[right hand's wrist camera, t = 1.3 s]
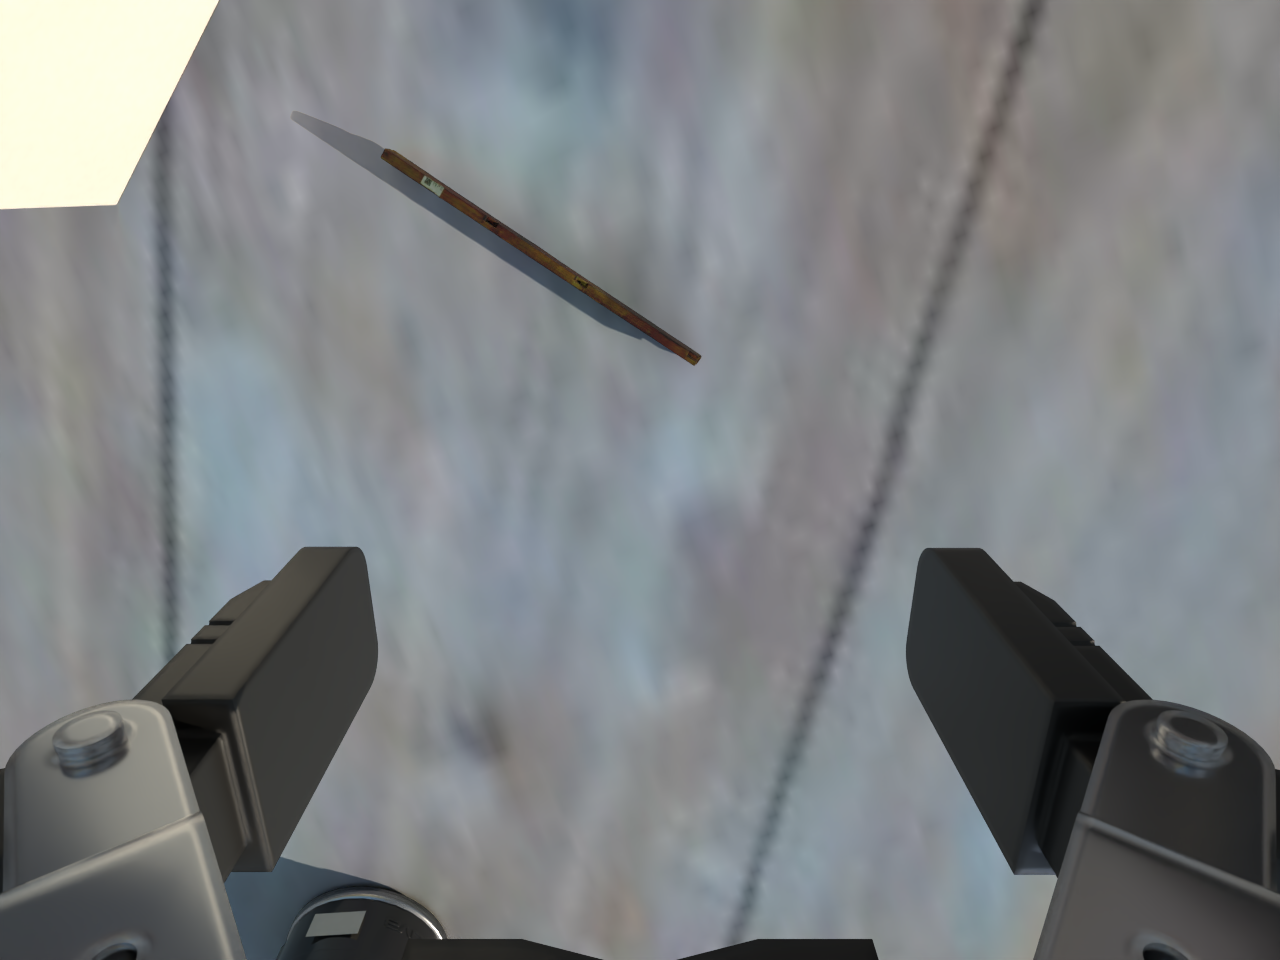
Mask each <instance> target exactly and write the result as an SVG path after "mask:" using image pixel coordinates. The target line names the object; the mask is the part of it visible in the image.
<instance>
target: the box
mask: <svg viewBox="0 0 1280 960" xmlns="http://www.w3.org/2000/svg"><path fill="white" fill-rule="evenodd" d="M218 1H219V0H0V209H18V208H45V207H72V206H98V205H116V204H117V202H118V200H119V198H120V196H121V194H122V193H123V191H124V189H125V187H126V185H127V183H128V181H129V179H130V177H131V175H132V173H133V171H134V169H135V167H136V165H137V163H138V161H139V159H140V157H141V155H142V153H143V151H144V149H145V147H146V145H147V143H148V141H149V139H150V137H151V135H152V133H153V131H154V129H155V127H156V125H157V123H158V121H159V119H160V117H161V115H162V113H163V111H164V109H165V107H166V105H167V103H168V101H169V99H170V97H171V95H172V93H173V91H174V89H175V87H176V85H177V83H178V81H179V79H180V77H181V75H182V73H183V71H184V69H185V67H186V65H187V63H188V61H189V59H190V57H191V55H192V53H193V51H194V49H195V47H196V45H197V43H198V41H199V39H200V37H201V35H202V33H203V31H204V29H205V27H206V25H207V23H208V21H209V19H210V17H211V15H212V13H213V11H214V9H215V7H216V5H217V3H218Z"/></svg>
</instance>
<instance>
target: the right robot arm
mask: <svg viewBox="0 0 1280 960" xmlns="http://www.w3.org/2000/svg"><path fill="white" fill-rule="evenodd" d="M377 660H378V641H377V634H376V627H375V620H374V613H373V606H372V599H371V592H370V585H369V578H368V571H367V564H366V560H365V556H364V554H363V552H362V550H361V549H360V548H358V547H304V548H302V549H301V550H299V551H298V552H297V554H296V555H295V556H294V557H293V558H292V559H291V560H290V561H289V562H288V563H287V564H286V565H285V567H284V568H283V569H282V570H281V571H280V572H279V573H278V574H277V575H276V576H275V577H274V578H273V579H272V581H262V582H260V583H259V584H257V585H255V586H253V587H252V588H250V589H248V590H246V591H244V592H243V593H241V594H239V595H237V596H236V597H234V598H232V599H230V600H229V601H228V603H227V604H226V605H225V606H224V607H223V608H222V609H221V610H220V611H219V612H218V613H217V614H216V615H215V616H214V617H213V618H212V619H211V620H210V621H209V625H205V626H204V627H203V628H202V629H201V630H200V631H199V632H198V633H197V634H196V635H195V636H194V637H193V638H192V639H191V644H186V645H185V646H184V647H183V648H182V649H181V650H180V651H179V652H178V653H177V654H176V655H175V656H174V657H173V658H172V659H171V660H170V661H169V662H168V664H167V665H166V666H165V667H164V668H163V669H162V670H161V671H160V672H159V673H158V674H157V675H156V676H155V677H154V678H153V679H152V680H151V681H150V682H149V683H148V684H147V685H146V686H145V687H144V688H143V689H142V690H141V691H140V692H139V693H138V694H137V695H136V696H135V697H134V698H133V699H132V700H121V701H113V702H108V703H103V704H99V705H96V706H92V707H88V708H85V709H83V710H80V711H77V712H74V713H72V714H70V715H67V716H65V717H63V718H60V719H59V720H57V721H55V722H53V723H51V724H49V725H47V726H46V727H44V728H42V729H41V730H39V731H38V732H36V733H35V734H33V735H32V736H31V737H30V738H28V739H27V740H26V741H24V742H23V743H22V744H21V745H20V746H19V747H18V748H17V749H16V750H15V752H14V753H13V754H12V756H11V757H10V758H9V760H8V762H7V764H6V768H3V769H0V960H247V959H246V956H245V953H244V949H243V946H242V943H241V939H240V936H239V933H238V929H237V926H236V923H235V919H234V916H233V913H232V909H231V906H230V903H229V900H228V896H227V893H226V890H225V886H224V883H225V881H226V879H227V877H228V876H229V874H230V872H272V871H273V869H274V867H275V865H276V863H277V861H278V859H279V858H280V856H281V854H282V852H283V850H284V848H285V846H286V844H287V843H288V841H289V839H290V837H291V835H292V833H293V831H294V830H295V828H296V826H297V824H298V822H299V820H300V818H301V816H302V815H303V813H304V811H305V809H306V807H307V805H308V803H309V801H310V800H311V798H312V796H313V794H314V792H315V790H316V788H317V786H318V785H319V783H320V781H321V779H322V777H323V775H324V773H325V772H326V770H327V768H328V766H329V764H330V762H331V760H332V758H333V757H334V755H335V753H336V751H337V749H338V747H339V745H340V743H341V742H342V740H343V738H344V736H345V734H346V732H347V730H348V728H349V727H350V725H351V723H352V721H353V719H354V717H355V715H356V714H357V712H358V710H359V708H360V706H361V704H362V702H363V700H364V699H365V697H366V695H367V693H368V691H369V689H370V687H371V685H372V683H373V680H374V677H375V673H376V668H377ZM906 661H907V669H908V674H909V678H910V681H911V684H912V686H913V689H914V690H915V692H916V694H917V696H918V698H919V700H920V702H921V703H922V705H923V707H924V709H925V711H926V713H927V714H928V716H929V718H930V720H931V722H932V724H933V726H934V727H935V729H936V731H937V733H938V735H939V737H940V739H941V740H942V742H943V744H944V746H945V748H946V750H947V751H948V753H949V755H950V757H951V759H952V761H953V763H954V764H955V766H956V768H957V770H958V772H959V774H960V775H961V777H962V779H963V781H964V783H965V785H966V787H967V788H968V790H969V792H970V794H971V796H972V798H973V799H974V801H975V803H976V805H977V807H978V809H979V811H980V812H981V814H982V816H983V818H984V820H985V822H986V824H987V825H988V827H989V829H990V831H991V833H992V835H993V836H994V838H995V840H996V842H997V844H998V846H999V848H1000V849H1001V851H1002V853H1003V855H1004V857H1005V859H1006V860H1007V862H1008V864H1009V866H1010V868H1011V870H1012V872H1013V873H1014V875H1056V876H1057V878H1058V880H1057V883H1056V886H1055V890H1054V893H1053V896H1052V900H1051V903H1050V906H1049V909H1048V913H1047V916H1046V919H1045V923H1044V926H1043V929H1042V933H1041V936H1040V939H1039V943H1038V946H1037V949H1036V953H1035V956H1034V959H1033V960H1280V770H1277V769H1275V768H1274V764H1273V762H1272V760H1271V758H1270V757H1269V756H1268V754H1267V753H1266V752H1265V750H1264V749H1263V748H1262V747H1261V746H1260V745H1259V744H1258V743H1257V742H1256V741H1254V740H1253V739H1252V738H1250V737H1249V736H1248V735H1247V734H1245V733H1244V732H1242V731H1241V730H1239V729H1238V728H1236V727H1234V726H1233V725H1231V724H1229V723H1227V722H1225V721H1223V720H1221V719H1220V718H1217V717H1215V716H1213V715H1210V714H1208V713H1206V712H1203V711H1200V710H1197V709H1195V708H1192V707H1188V706H1184V705H1181V704H1177V703H1172V702H1167V701H1159V700H1153V699H1152V698H1151V697H1150V696H1149V695H1148V694H1147V693H1146V692H1145V691H1144V690H1143V689H1142V688H1141V687H1140V686H1139V685H1138V684H1137V683H1136V682H1135V681H1134V680H1133V679H1132V678H1131V677H1130V676H1129V675H1128V674H1127V673H1126V672H1125V671H1124V670H1123V669H1122V668H1121V667H1120V666H1119V665H1118V664H1117V663H1116V662H1115V661H1114V660H1113V659H1112V658H1111V657H1110V656H1109V655H1108V654H1107V653H1106V652H1105V651H1104V650H1103V649H1102V648H1101V647H1100V646H1095V644H1094V640H1093V639H1092V638H1091V637H1090V636H1089V635H1088V634H1087V633H1086V632H1085V631H1084V630H1083V629H1082V628H1081V627H1076V622H1075V621H1074V620H1073V619H1072V618H1071V617H1070V616H1069V615H1068V614H1067V613H1066V612H1065V611H1064V610H1063V609H1062V608H1061V607H1060V606H1059V605H1058V604H1057V603H1056V602H1055V601H1054V600H1052V599H1051V598H1049V597H1047V596H1045V595H1043V594H1042V593H1040V592H1038V591H1036V590H1035V589H1033V588H1031V587H1029V586H1027V585H1026V584H1024V583H1022V582H1013V581H1012V580H1011V579H1010V577H1009V576H1008V575H1007V574H1006V573H1005V572H1004V571H1003V570H1002V569H1001V568H1000V567H999V566H998V565H997V564H996V563H995V561H994V560H993V559H992V558H991V557H990V556H989V555H988V554H987V553H986V552H985V551H984V550H983V549H981V548H926V549H925V550H924V551H923V552H922V554H921V556H920V558H919V562H918V567H917V573H916V580H915V587H914V594H913V601H912V608H911V614H910V621H909V628H908V635H907V643H906ZM276 960H602V959H598V958H594V957H590V956H586V955H582V954H578V953H574V952H570V951H566V950H563V949H559V948H555V947H551V946H547V945H543V944H539V943H535V942H531V941H527V940H523V939H447V936H446V934H445V931H444V929H443V928H442V926H441V924H440V923H439V921H438V920H437V919H436V918H435V917H434V915H433V914H431V913H430V912H429V911H428V910H427V909H426V908H425V907H423V906H422V905H420V904H419V903H417V902H416V901H414V900H412V899H410V898H408V897H406V896H404V895H401V894H399V893H396V892H392V891H389V890H385V889H380V888H373V887H348V888H342V889H337V890H333V891H330V892H327V893H324V894H322V895H320V896H318V897H316V898H315V899H313V900H312V901H310V902H309V903H307V904H306V905H305V906H304V907H303V908H302V909H301V911H300V912H299V913H298V915H297V916H296V918H295V920H294V922H293V924H292V927H291V929H290V931H289V933H288V937H287V942H286V944H285V945H284V946H282V948H281V950H280V952H279V954H278V956H277V958H276ZM678 960H878V957H877V953H876V950H875V947H874V943H873V940H872V939H757V940H753V941H749V942H745V943H741V944H737V945H733V946H729V947H725V948H721V949H717V950H714V951H710V952H706V953H702V954H698V955H694V956H690V957H686V958H682V959H678Z"/></svg>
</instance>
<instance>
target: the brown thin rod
mask: <svg viewBox="0 0 1280 960" xmlns="http://www.w3.org/2000/svg"><path fill="white" fill-rule="evenodd" d="M381 158H382V159H383V160H385V161H386V162H388V163H389V164H391V165H392V166H394V167H395V168H397V169H398V170H400V171H401V172H403V173H404V174H405V175H407V176H408V177H410V178H412V179H413V180H415V181H416V182H418V183H419V184H421V185H422V186H424V187H425V188H427V189H428V190H430V191H431V192H433V193H434V194H436V195H437V196H438V197H439V198H442V199H443V200H445V201H446V202H448V203H449V204H451V205H452V206H454V207H455V208H457V209H458V210H460V211H461V212H463V213H464V214H466V215H467V216H469V217H470V218H472V219H473V220H475V221H477V222H478V223H480V224H481V225H483V226H484V227H486V228H487V229H489V230H490V231H492V232H493V233H495V234H496V235H498V236H499V237H500V238H502V239H503V240H505V241H506V242H508V243H509V244H511V245H513V246H514V247H516V248H517V249H519V250H520V251H522V252H523V253H525V254H526V255H528V256H529V257H531V258H532V259H534V260H535V261H537V262H538V263H540V264H541V265H543V266H544V267H546V268H547V269H549V270H550V271H552V272H553V273H555V274H556V275H558V276H559V277H561V278H562V279H564V280H565V281H567V282H568V283H570V284H571V285H573V286H574V287H576V288H577V289H579V290H580V291H582V292H583V293H585V294H587V295H588V296H589V297H591V298H592V299H594V300H595V301H597V302H598V303H600V304H601V305H603V306H604V307H606V308H607V309H609V310H610V311H612V312H613V313H615V314H616V315H618V316H620V317H621V318H623V319H624V320H626V321H627V322H629V323H630V324H632V325H633V326H635V327H636V328H638V329H639V330H641V331H642V332H644V333H645V334H647V335H649V336H650V337H652V338H653V339H655V340H656V341H658V342H659V343H661V344H662V345H664V346H665V347H667V348H668V349H670V350H671V351H673V352H674V353H676V354H677V355H679V356H680V357H682V358H683V359H685V360H686V361H688V362H689V363H691V364H692V365H694V366H695V364H697V363H698V361H699V360H700V358H701V355H699V354H698V353H697V352H695V351H693V350H692V349H691V348H689V347H688V346H686V345H685V344H683V343H682V342H680V341H679V340H677V339H676V338H674V337H673V336H671V335H669V334H668V333H667V332H665V331H664V330H662V329H661V328H659V327H658V326H656V325H655V324H653V323H652V322H650V321H649V320H647V319H646V318H644V317H643V316H641V315H640V314H638V313H637V312H635V311H634V310H632V309H631V308H629V307H628V306H626V305H625V304H623V303H622V302H620V301H619V300H617V299H615V298H614V297H612V296H611V295H609V294H608V293H606V292H605V291H603V290H602V289H600V288H599V287H598V286H596V285H594V284H593V283H591V282H590V281H588V280H587V279H585V278H584V277H582V276H581V275H579V274H578V273H576V272H575V271H573V270H572V269H570V268H569V267H567V266H566V265H565V264H563V263H561V262H560V261H558V260H557V259H556V258H554V257H553V256H551V255H550V254H548V253H547V252H545V251H544V250H543V249H541V248H540V247H538V246H537V245H535V244H534V243H532V242H530V241H529V240H527V239H526V238H524V237H523V236H521V235H520V234H518V233H517V232H515V231H514V230H512V229H511V228H509V227H508V226H506V225H505V224H503V223H501V222H500V221H499V220H497V219H495V218H494V217H492V216H491V215H490V214H488V213H487V212H485V211H484V210H482V209H481V208H479V207H478V206H476V205H475V204H473V203H472V202H470V201H469V200H467V199H466V198H464V197H463V196H461V195H460V194H458V193H457V192H455V191H454V190H452V189H451V188H449V187H448V186H446V185H445V184H443V183H442V182H440V181H439V180H437V179H436V178H434V177H433V176H431V175H430V174H429V173H427V172H426V171H424V170H423V169H421V168H419V167H418V166H417V165H415V164H413V163H412V162H411V161H409V160H408V159H406V158H405V157H403V156H402V155H400V154H399V153H397V152H396V151H394V150H391V149H385V150H384V152H383V154H382V156H381Z"/></svg>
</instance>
